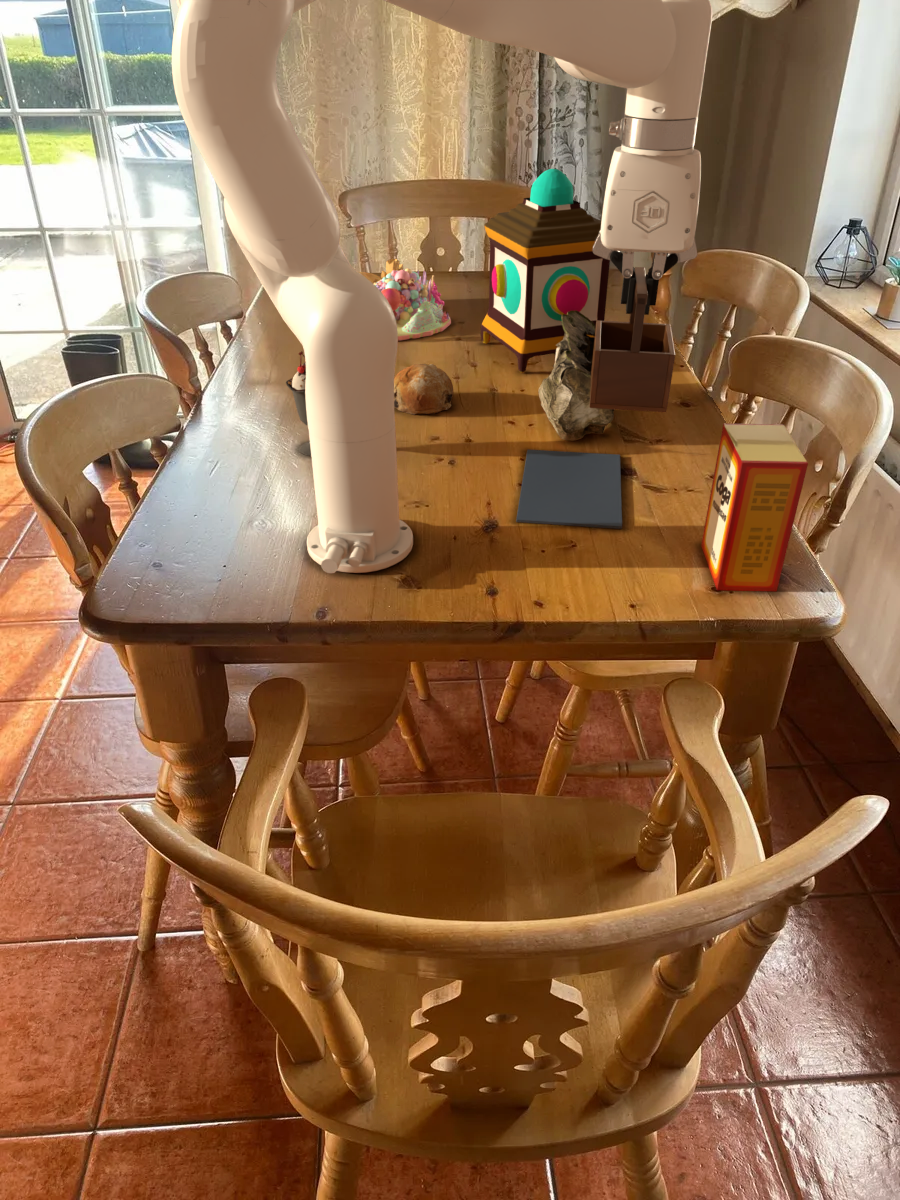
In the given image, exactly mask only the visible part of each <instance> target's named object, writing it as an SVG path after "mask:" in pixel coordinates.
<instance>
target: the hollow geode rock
mask: <svg viewBox="0 0 900 1200" xmlns="http://www.w3.org/2000/svg"><path fill="white" fill-rule="evenodd" d="M561 317H562V318H561V319H562V322H561V323H562V326H563V329H564V332H565V333H564V335H565V336H564V337H563V340H562V341H560V342H559V343H558V344H557V345H556V346H557V348H556V353H555V356H554V357H555V358H554V364H553V369H552V371H551V373H550V374H549V376H547V377H546V378H543V379H542V381H541V384H540V385H539V387H538V391H537V393H538V397H539V401H540V406H541V407H542V410H543V411H544V412H545V415H546V417H547V419H548V421H549V422H550V424H551V425H552V427H553V428H554V430H555V432H556V434H557V436H558V437H559V438H560V439H561V440H565V441H573V442H574V441H578V440H581V439H583V438H584V436H586V435H589V434H595V435H600V434H601V435H602V434H605V433H604V432H605V430H606V427H607V426H608V425H609V424H610V423H611V422H613V420H614V418H615V409H599V408H590V388H591V371H592V361H593V351H594V340H595V338H594V337H589V336H587V335H591V336H595V330H596V328H595V324H594V323H593V321H590V320H589V319H588V318H587V317H585V316H584V315H583V314H581V313H580V312H579V311H576V310H575V311H570V312H568V313H567V315H565V314H563V315H562V316H561Z"/></svg>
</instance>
